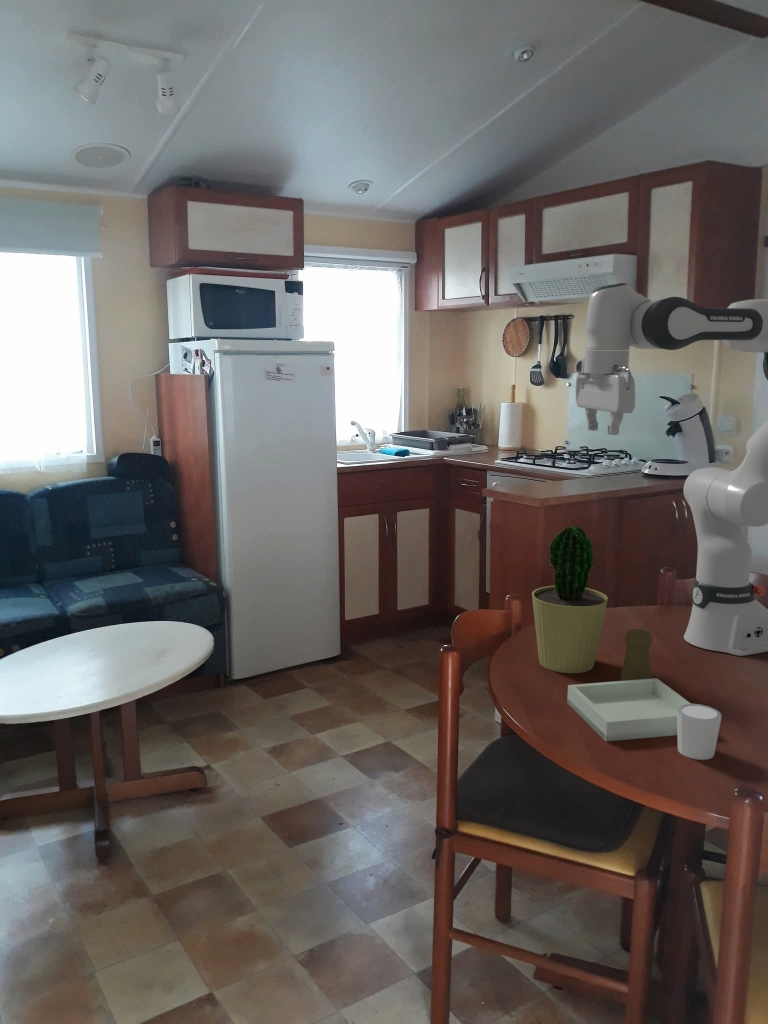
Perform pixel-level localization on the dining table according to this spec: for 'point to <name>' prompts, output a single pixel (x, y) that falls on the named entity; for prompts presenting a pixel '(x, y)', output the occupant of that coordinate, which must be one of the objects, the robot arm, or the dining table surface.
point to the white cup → (697, 730)
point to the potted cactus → (569, 607)
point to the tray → (627, 708)
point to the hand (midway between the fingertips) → (602, 432)
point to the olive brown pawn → (637, 655)
